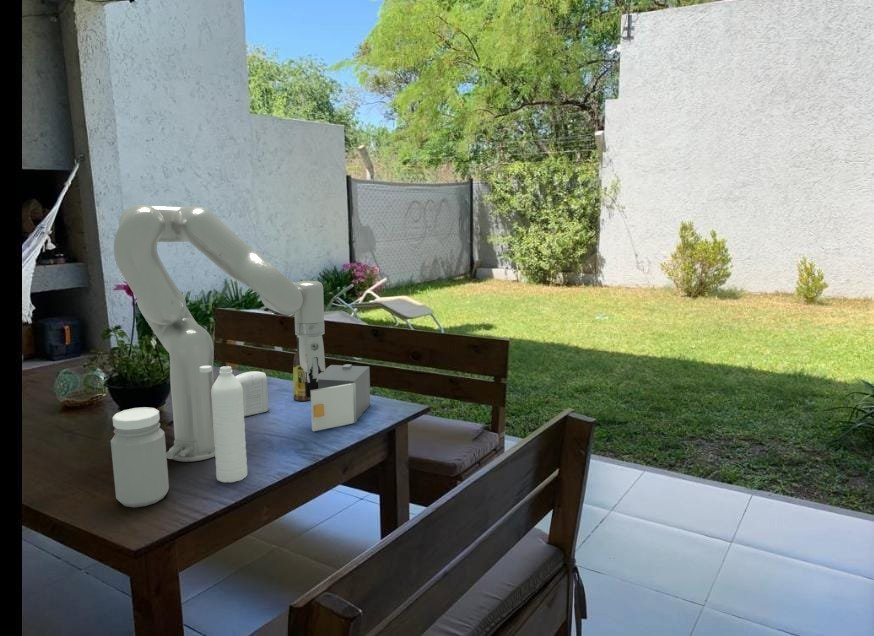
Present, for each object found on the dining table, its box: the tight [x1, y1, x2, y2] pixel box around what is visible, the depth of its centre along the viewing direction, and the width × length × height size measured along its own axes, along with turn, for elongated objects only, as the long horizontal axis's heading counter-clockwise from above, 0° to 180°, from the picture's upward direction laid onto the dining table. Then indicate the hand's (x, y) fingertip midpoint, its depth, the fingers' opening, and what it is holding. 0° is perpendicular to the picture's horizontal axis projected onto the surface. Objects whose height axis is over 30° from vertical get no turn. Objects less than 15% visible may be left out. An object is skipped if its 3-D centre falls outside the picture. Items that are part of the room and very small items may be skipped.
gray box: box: [318, 363, 371, 422], centre depth 177 cm, size 16×14×13 cm
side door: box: [310, 383, 357, 432], centre depth 164 cm, size 2×13×11 cm, turn 123°
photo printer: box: [234, 370, 269, 417], centre depth 176 cm, size 10×4×12 cm, turn 134°
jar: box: [110, 406, 170, 508], centre depth 123 cm, size 10×10×18 cm
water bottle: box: [200, 365, 248, 484], centre depth 133 cm, size 9×6×25 cm
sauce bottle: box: [292, 335, 311, 402], centre depth 189 cm, size 7×6×20 cm
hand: (312, 395), depth 163 cm, fingers closed
